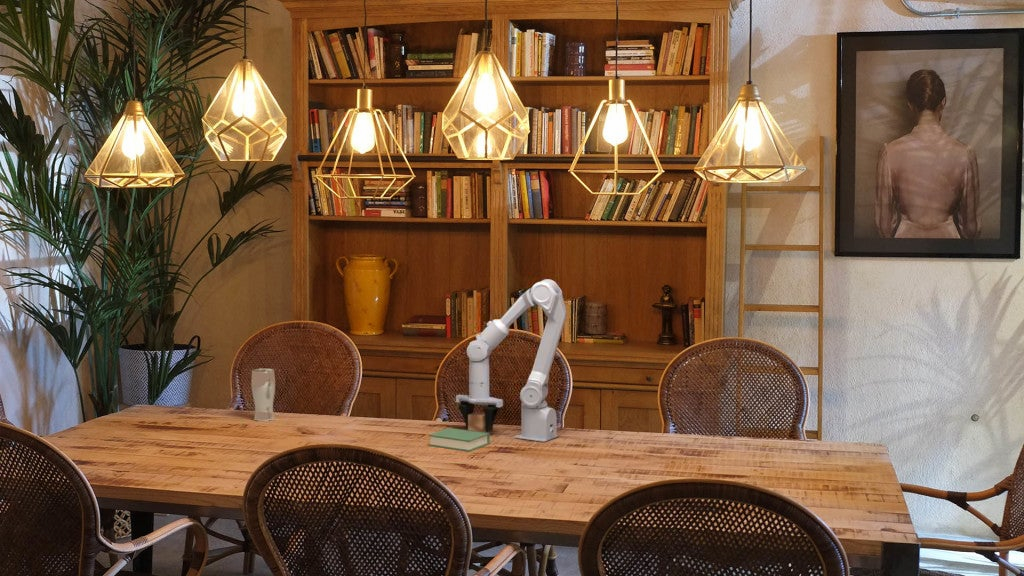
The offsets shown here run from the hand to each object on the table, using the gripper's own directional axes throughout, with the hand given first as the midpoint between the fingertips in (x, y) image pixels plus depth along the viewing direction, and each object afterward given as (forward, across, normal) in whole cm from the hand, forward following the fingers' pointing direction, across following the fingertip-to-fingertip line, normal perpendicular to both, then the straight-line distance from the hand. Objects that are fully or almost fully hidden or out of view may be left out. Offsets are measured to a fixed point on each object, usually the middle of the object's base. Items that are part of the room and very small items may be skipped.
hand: (479, 429), depth 296 cm
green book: (+1, +2, -13) cm, 13 cm away
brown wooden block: (+2, 0, 0) cm, 2 cm away
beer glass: (+2, -67, -16) cm, 69 cm away
